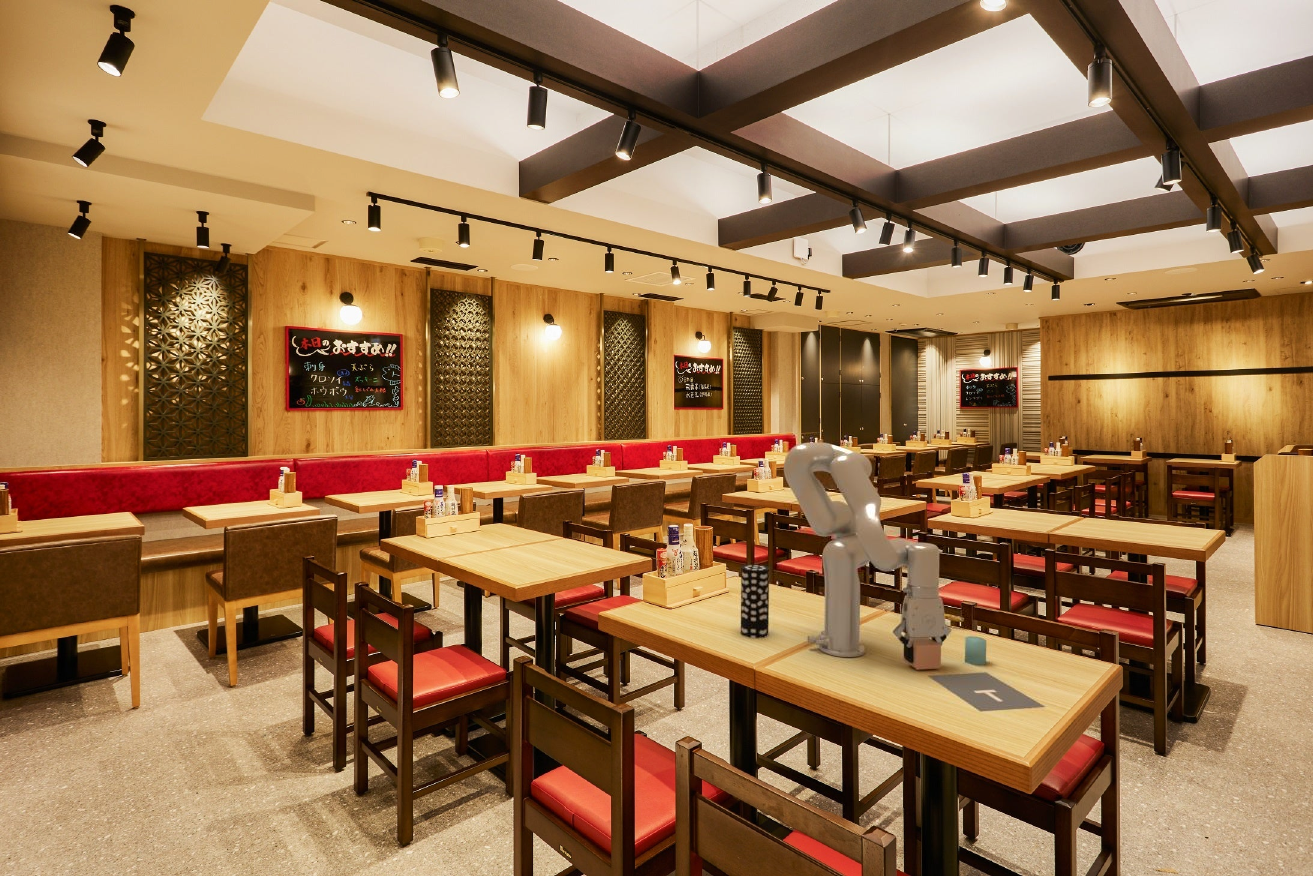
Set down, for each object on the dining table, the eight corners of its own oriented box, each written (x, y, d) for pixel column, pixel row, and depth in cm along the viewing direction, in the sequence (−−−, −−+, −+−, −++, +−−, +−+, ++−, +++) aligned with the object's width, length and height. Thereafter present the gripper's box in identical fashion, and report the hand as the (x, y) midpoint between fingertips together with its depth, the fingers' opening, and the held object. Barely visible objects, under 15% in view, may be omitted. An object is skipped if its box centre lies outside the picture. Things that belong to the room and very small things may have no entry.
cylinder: (972, 669, 167) (973, 643, 167) (960, 662, 172) (961, 636, 172) (990, 668, 168) (990, 642, 168) (977, 661, 173) (978, 635, 173)
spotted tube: (739, 636, 192) (739, 569, 191) (742, 628, 200) (742, 564, 199) (767, 639, 190) (768, 571, 189) (769, 630, 198) (770, 565, 197)
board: (980, 715, 141) (980, 711, 141) (927, 679, 160) (927, 675, 160) (1045, 711, 143) (1045, 706, 143) (985, 676, 163) (986, 672, 163)
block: (917, 669, 163) (917, 645, 163) (903, 660, 169) (903, 637, 169) (940, 668, 164) (941, 644, 164) (926, 658, 170) (926, 636, 170)
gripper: (899, 596, 161) (898, 667, 162) (962, 594, 164) (961, 664, 164) (884, 589, 169) (883, 656, 169) (944, 586, 171) (943, 653, 172)
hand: (921, 659), depth 167 cm, fingers closed on block, 6 cm apart
